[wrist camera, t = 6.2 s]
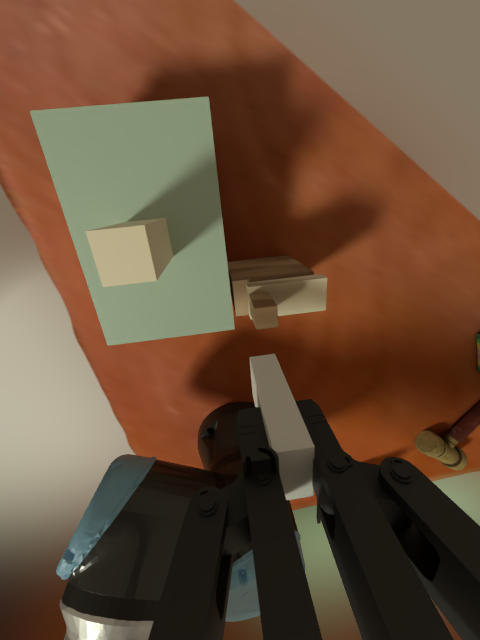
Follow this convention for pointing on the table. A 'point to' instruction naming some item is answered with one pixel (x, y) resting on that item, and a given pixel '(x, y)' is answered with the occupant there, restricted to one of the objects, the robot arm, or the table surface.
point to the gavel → (450, 441)
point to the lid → (143, 214)
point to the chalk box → (478, 350)
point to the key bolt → (285, 298)
